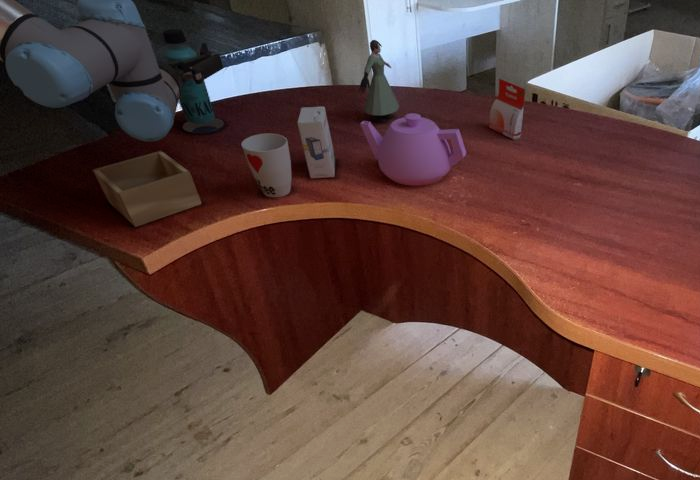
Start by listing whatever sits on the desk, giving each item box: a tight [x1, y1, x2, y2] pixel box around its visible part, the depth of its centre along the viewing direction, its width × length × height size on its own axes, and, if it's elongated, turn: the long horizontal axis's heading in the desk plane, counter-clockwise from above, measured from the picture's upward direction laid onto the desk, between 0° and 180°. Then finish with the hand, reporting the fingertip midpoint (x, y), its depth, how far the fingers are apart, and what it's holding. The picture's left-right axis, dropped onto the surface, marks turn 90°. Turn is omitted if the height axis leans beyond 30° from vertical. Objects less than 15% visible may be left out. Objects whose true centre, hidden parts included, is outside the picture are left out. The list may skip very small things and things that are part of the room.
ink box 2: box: [488, 78, 526, 140], centre depth 129 cm, size 3×9×12 cm, turn 42°
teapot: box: [359, 112, 467, 187], centre depth 112 cm, size 22×16×12 cm
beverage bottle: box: [162, 28, 216, 123], centre depth 120 cm, size 6×7×20 cm
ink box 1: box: [296, 105, 336, 179], centre depth 111 cm, size 9×5×12 cm, turn 10°
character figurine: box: [358, 39, 400, 123], centre depth 129 cm, size 16×8×18 cm, turn 163°
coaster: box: [182, 117, 225, 135], centre depth 127 cm, size 9×9×1 cm
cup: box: [241, 133, 293, 198], centre depth 104 cm, size 8×8×10 cm
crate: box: [92, 150, 202, 228], centre depth 100 cm, size 12×12×6 cm
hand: (169, 51), depth 109 cm, fingers open, 13 cm apart
